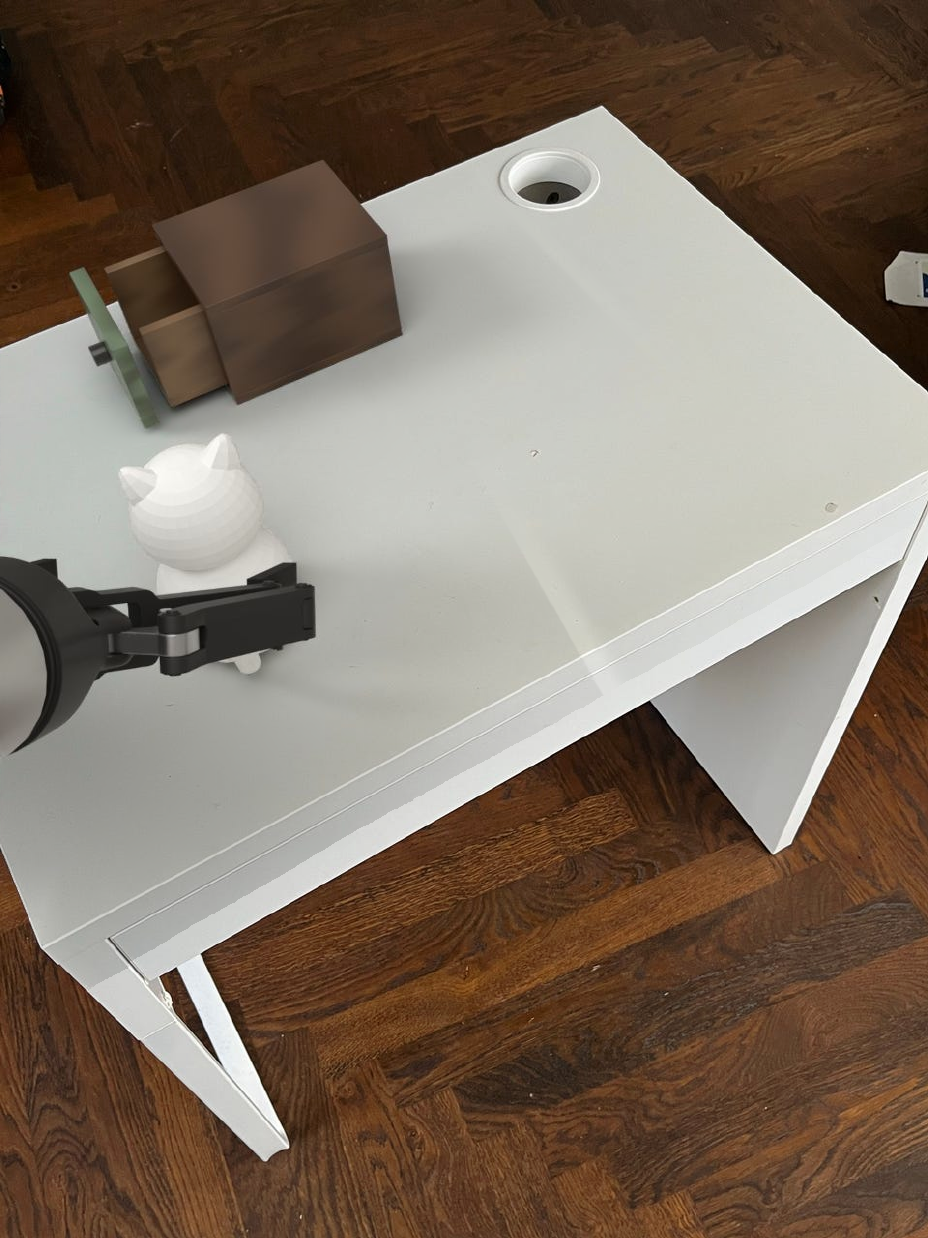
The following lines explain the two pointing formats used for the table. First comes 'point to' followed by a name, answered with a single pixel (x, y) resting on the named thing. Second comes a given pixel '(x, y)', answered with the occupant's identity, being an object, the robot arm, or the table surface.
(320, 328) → the cabinet
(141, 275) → the drawer
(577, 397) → the table surface
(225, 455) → the cat figurine
